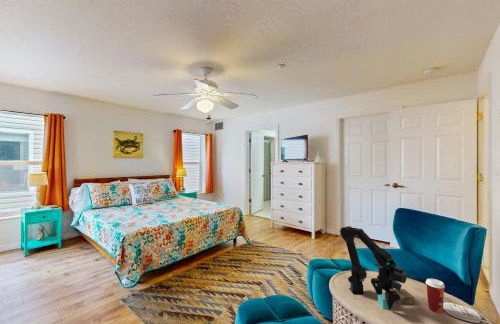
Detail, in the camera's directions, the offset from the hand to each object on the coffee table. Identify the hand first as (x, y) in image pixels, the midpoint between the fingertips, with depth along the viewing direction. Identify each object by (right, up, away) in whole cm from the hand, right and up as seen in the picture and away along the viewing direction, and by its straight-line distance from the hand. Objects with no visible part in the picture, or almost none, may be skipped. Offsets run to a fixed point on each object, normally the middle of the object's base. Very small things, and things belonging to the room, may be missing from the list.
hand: (384, 303), depth 130 cm
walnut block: (+13, -1, +6) cm, 14 cm away
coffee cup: (+25, -1, -4) cm, 25 cm away
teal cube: (0, -1, 0) cm, 1 cm away
